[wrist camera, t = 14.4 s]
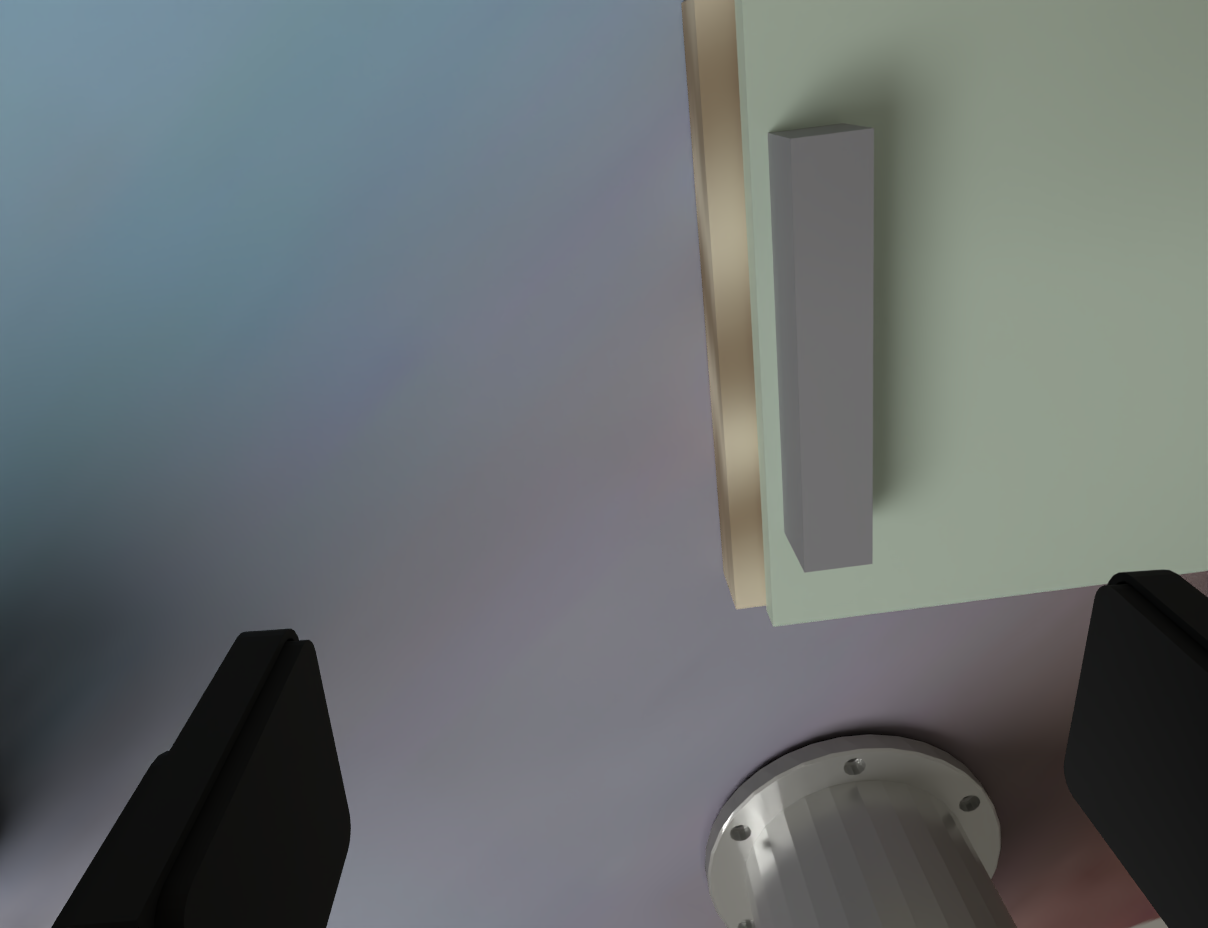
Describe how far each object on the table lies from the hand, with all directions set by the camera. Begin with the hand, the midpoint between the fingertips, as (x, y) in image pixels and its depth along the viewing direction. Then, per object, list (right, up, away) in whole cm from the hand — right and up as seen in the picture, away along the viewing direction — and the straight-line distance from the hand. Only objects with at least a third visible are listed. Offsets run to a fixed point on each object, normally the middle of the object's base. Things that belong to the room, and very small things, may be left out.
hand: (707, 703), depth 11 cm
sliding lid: (+13, +8, +16) cm, 22 cm away
